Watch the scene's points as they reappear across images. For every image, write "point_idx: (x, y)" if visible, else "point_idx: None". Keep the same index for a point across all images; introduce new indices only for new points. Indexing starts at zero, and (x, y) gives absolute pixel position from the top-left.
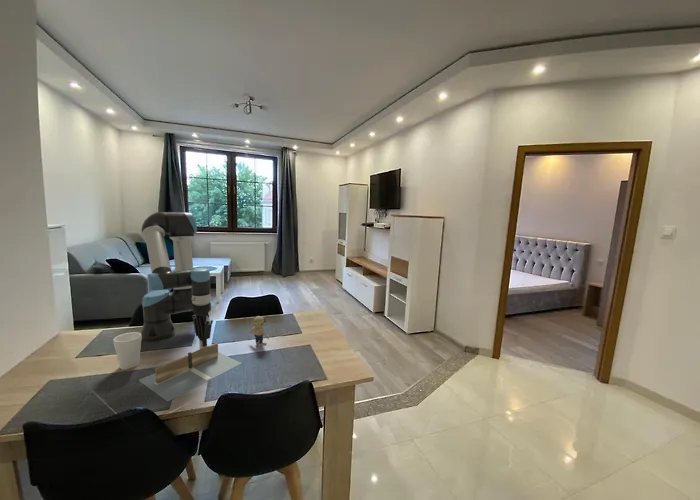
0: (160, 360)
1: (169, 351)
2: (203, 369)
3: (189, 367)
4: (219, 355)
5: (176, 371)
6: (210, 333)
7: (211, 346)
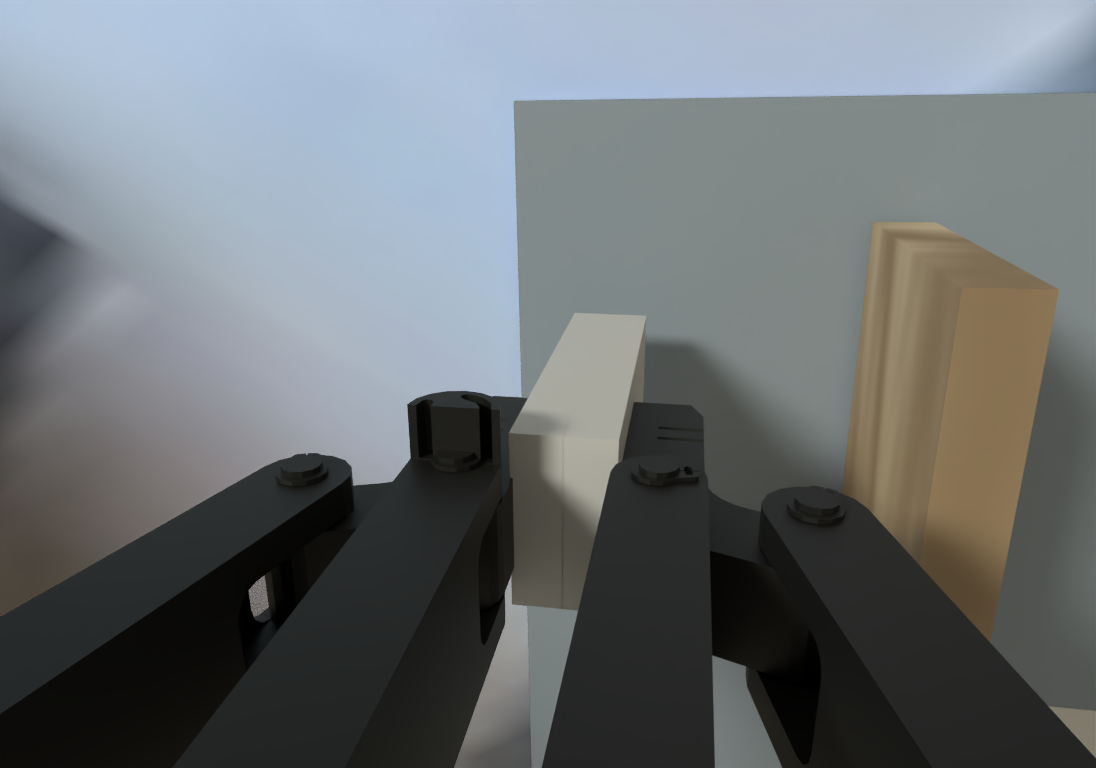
0: None
1: (52, 552)
2: (1082, 650)
3: None
4: (923, 180)
5: None
6: (974, 631)
7: (1010, 494)
